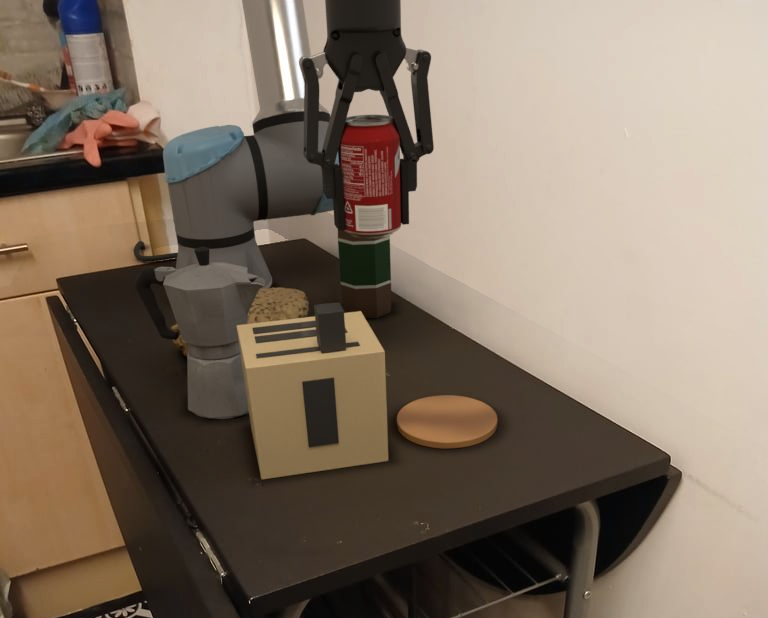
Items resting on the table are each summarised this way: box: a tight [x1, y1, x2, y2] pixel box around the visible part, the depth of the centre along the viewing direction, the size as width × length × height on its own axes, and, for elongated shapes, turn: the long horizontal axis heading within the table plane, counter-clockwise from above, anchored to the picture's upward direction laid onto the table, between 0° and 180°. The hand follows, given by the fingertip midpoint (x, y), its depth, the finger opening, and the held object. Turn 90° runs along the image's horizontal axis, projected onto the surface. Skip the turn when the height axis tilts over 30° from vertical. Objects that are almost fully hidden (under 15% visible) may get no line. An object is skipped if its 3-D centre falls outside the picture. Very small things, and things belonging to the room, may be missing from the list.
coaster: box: [396, 394, 498, 450], centre depth 87 cm, size 11×11×1 cm
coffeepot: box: [134, 247, 265, 420], centre depth 88 cm, size 15×9×18 cm, turn 74°
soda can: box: [338, 114, 402, 239], centre depth 88 cm, size 7×7×12 cm
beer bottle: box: [337, 229, 392, 319], centre depth 110 cm, size 8×8×24 cm
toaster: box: [237, 311, 389, 481], centre depth 81 cm, size 11×13×12 cm
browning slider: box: [313, 301, 346, 353], centre depth 74 cm, size 2×2×4 cm
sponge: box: [170, 286, 310, 358], centre depth 105 cm, size 13×8×20 cm
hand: (371, 224), depth 91 cm, fingers closed on soda can, 7 cm apart
